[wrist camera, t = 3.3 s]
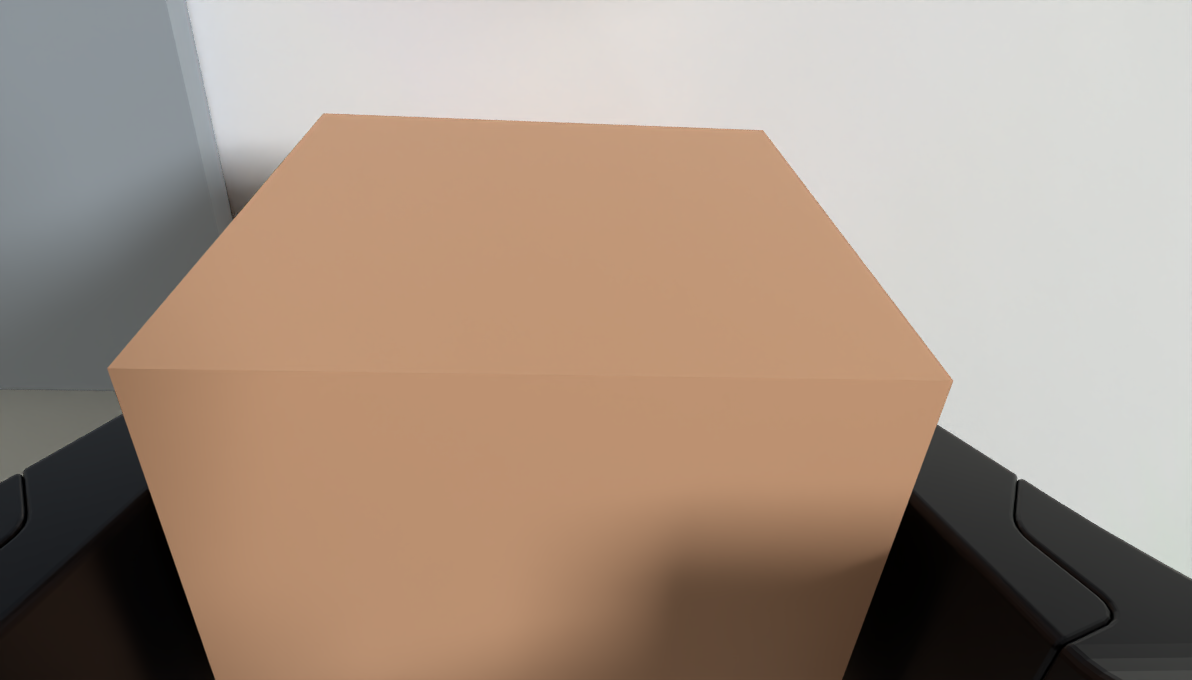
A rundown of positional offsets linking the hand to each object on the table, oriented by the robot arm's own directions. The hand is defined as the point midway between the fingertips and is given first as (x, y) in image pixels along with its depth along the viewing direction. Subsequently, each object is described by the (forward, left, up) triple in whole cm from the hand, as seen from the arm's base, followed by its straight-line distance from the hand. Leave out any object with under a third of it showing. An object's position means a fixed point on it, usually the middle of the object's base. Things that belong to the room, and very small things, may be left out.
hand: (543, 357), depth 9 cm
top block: (0, 0, -1) cm, 1 cm away
